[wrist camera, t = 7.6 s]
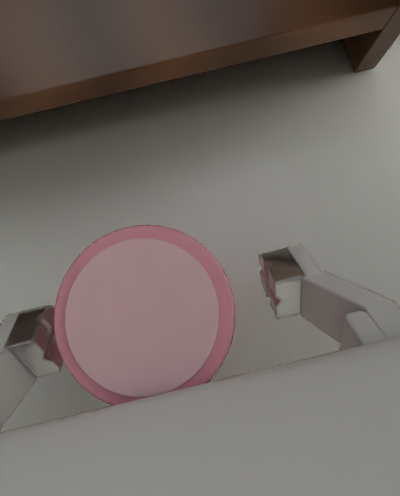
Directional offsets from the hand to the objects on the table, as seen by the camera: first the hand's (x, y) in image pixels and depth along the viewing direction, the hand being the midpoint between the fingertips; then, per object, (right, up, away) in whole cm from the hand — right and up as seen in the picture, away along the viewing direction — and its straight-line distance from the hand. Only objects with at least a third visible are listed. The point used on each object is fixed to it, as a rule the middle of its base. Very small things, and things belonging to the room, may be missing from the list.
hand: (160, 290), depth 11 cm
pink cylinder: (0, -1, +4) cm, 5 cm away
